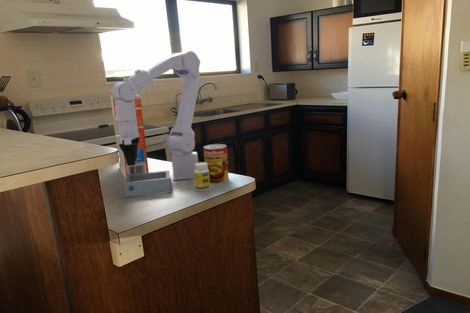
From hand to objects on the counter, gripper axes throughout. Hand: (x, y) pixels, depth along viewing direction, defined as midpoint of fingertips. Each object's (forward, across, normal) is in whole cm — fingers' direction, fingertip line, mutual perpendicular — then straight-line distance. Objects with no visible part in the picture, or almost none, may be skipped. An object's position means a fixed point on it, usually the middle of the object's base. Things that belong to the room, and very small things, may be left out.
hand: (132, 162), depth 122 cm
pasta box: (+10, -25, -2) cm, 27 cm away
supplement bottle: (+10, +7, +22) cm, 24 cm away
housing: (+9, +1, +4) cm, 10 cm away
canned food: (+10, -2, +27) cm, 29 cm away
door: (+9, +7, +5) cm, 12 cm away
